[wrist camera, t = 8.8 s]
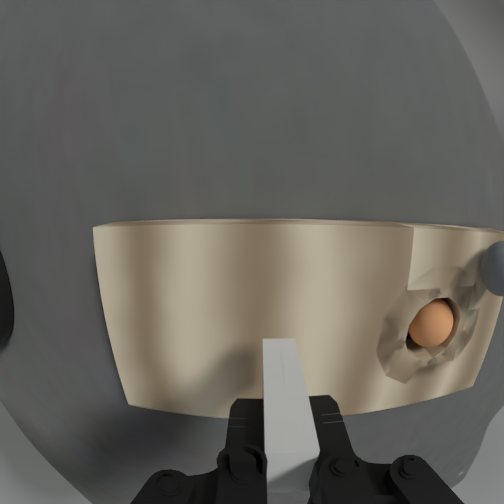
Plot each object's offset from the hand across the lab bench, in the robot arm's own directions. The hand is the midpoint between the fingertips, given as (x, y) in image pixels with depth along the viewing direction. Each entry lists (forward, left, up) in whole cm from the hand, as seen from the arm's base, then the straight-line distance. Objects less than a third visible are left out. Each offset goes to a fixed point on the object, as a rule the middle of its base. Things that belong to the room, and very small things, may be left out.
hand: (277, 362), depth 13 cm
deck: (+4, 0, -6) cm, 7 cm away
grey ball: (+15, +4, -1) cm, 15 cm away
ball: (+11, 0, -4) cm, 12 cm away
